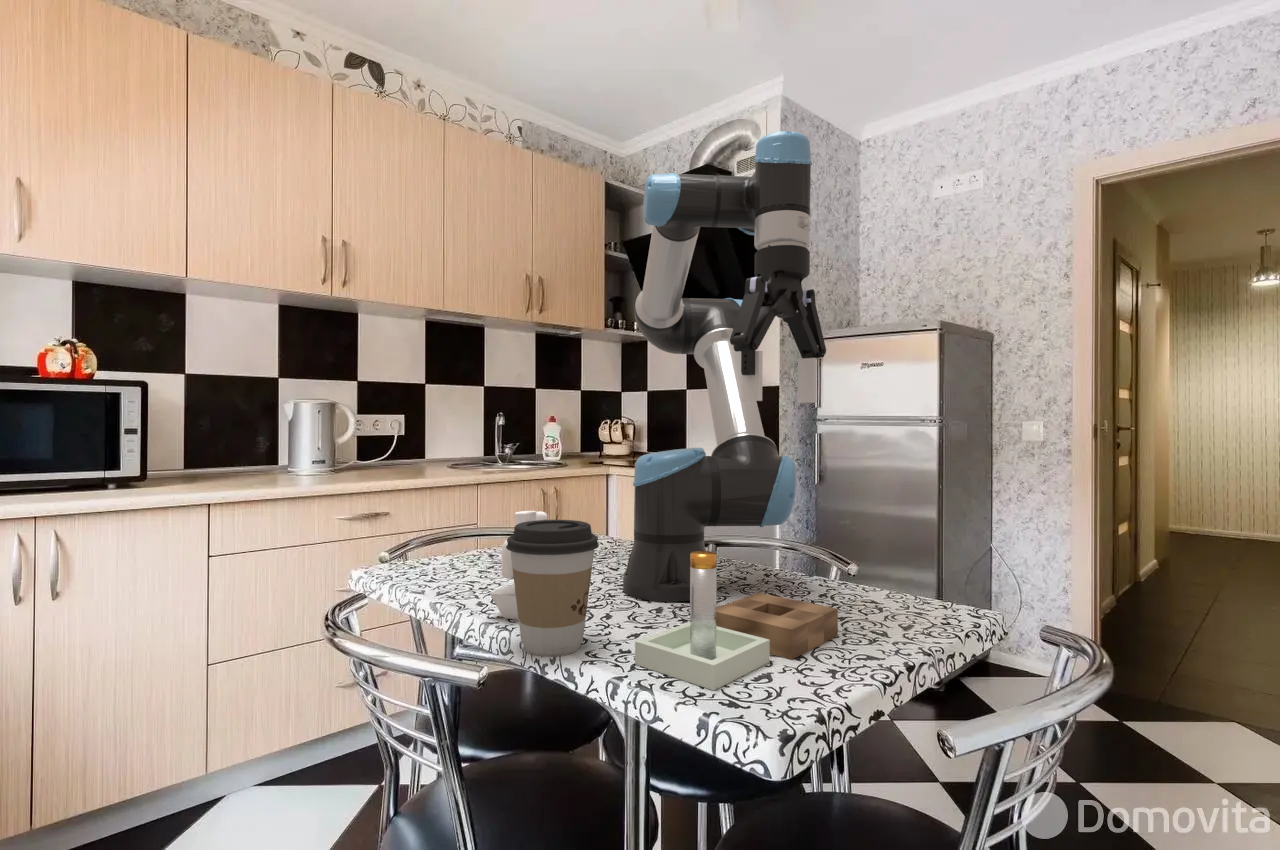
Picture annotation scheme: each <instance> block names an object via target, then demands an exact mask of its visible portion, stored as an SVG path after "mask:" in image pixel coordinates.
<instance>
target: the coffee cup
mask: <svg viewBox="0 0 1280 850" xmlns="http://www.w3.org/2000/svg"><path fill="white" fill-rule="evenodd" d="M598 539H599V537H598V536H597V535H595V534H594V533H592V526H591V524H590V523H588V522H587V521H581V520H574V519H548V520H537V521H528V522H523V523H519V524H517V525H516V524H515V526H514V530H513V534H511V535H510V536H509V537H508V538H507V539H506V540H507V543H508V545H507V546H506V548H507V550H510V552H511V560H512V568H513V577H514V578H513V582H514V583H513V584H514V585H515V593H516V602H517V610H518V618H519V620H518V626H519V633H520V634H519V635H520V641H521V643H522V647H523V648H522V649H523V650H524V652H525V653H527V654H528V655H529V654H530V655H532V656H534V657H535V656H536V657H542V658H543V657H545V658H546V657H547V658H548V657H549V658H551V657H561V656H562V657H564V656H567V655H571V654H573V653H576V652H578V651H579V650H580V649H581V645H582V641H583V639H584V632H585V625H586V618H587V610H588V601H589V596H590V595H589V594H590V587H591V579H592V572H593V571H592V570H593V562H594V556H595V555H594V554H595V550H596V549H597V548H599V546H600V545H599V543H598Z"/></svg>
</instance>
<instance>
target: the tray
mask: <svg viewBox="0 0 1280 850" xmlns="http://www.w3.org/2000/svg"><path fill="white" fill-rule="evenodd" d="M770 655H771V654H770V640H769V639H765V638H761V637H757V636H753V635H749V634H745V633H741V632H737V631H733V630H730V629H726V628H722V627H718V626H716V659H714V660H709V659H705V658H702V657H699V656H695V655H692V654H690V621H687V622H686V623H683V624H680V625H677V626H674V627H671V628H669V629H666V630H663V631H660V632H657V633H655V634H651V635H649V636H646V637H644V638H640V639H638V640H635V641H634V665H636V666H639V667H642V668H646V669H649V670H651V671H654V672H657V673H660V674H662V675H663V674H664V675H665V676H666V675H667V676H670V677H672V678H675V679H678V680H681V681H684V682H688V683H691V684H693V685H695V686H699V687H702V688H706V689H708V690H711V691H715V690H718V689H720V688H722V687H724V686H726V685H727V684H730V683H731V682H733V681H735V680H738V679H739V678H741V677H744V676H745V675H748V674H749V673H751V672H754V671H755V670H757V669H759V668H761V667H763V666H765V665H767V664H769V663H771V661H770V659H771V657H770Z"/></svg>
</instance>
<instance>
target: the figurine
mask: <svg viewBox="0 0 1280 850" xmlns="http://www.w3.org/2000/svg"><path fill="white" fill-rule="evenodd" d="M548 518H549V517H548V514H547V512H546V511H536V510H522V511H516V512H515V513H514V521H515V526H516V525H517V524H519V523H523V522H528V521H537V520H549V519H548ZM507 545H508V543H507V539H505V541H504V542H503V544H502V547H501V576H502V577H503V578H504V579H514V577H513V568H512V560H511V552H510V550H507V548H506V546H507ZM489 595H490V597H491V599H492V601H493V602H494V604H495V605H496V607H497V609H498V611H499V612H500V614H501V616H502V617H503V619H508V620H517V621H519V618H518V610H517V602H516V593H515V585H514V583H512V584H510V585H507V586H505V587H502V588H500V589H497V590H494V591H491V592H489Z"/></svg>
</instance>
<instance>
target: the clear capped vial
mask: <svg viewBox="0 0 1280 850" xmlns="http://www.w3.org/2000/svg"><path fill="white" fill-rule="evenodd" d="M716 607H717V552H714V551H708V550H706V551H694V552H691V553H690V601H689V622H690V654H692V655H695V656H699V657H702V658H705V659H709V660H714V659H716Z"/></svg>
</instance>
